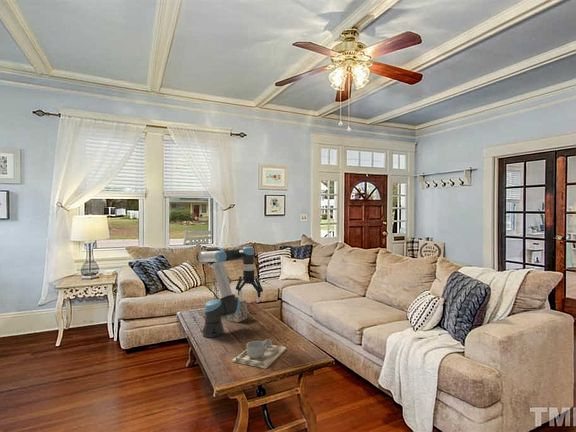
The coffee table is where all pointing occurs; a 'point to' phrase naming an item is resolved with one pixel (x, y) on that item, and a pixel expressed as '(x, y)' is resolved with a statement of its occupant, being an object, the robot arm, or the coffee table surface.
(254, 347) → the teacup
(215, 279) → the geometric lantern
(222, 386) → the coffee table surface
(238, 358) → the carrier board
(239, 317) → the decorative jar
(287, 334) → the coffee table surface
